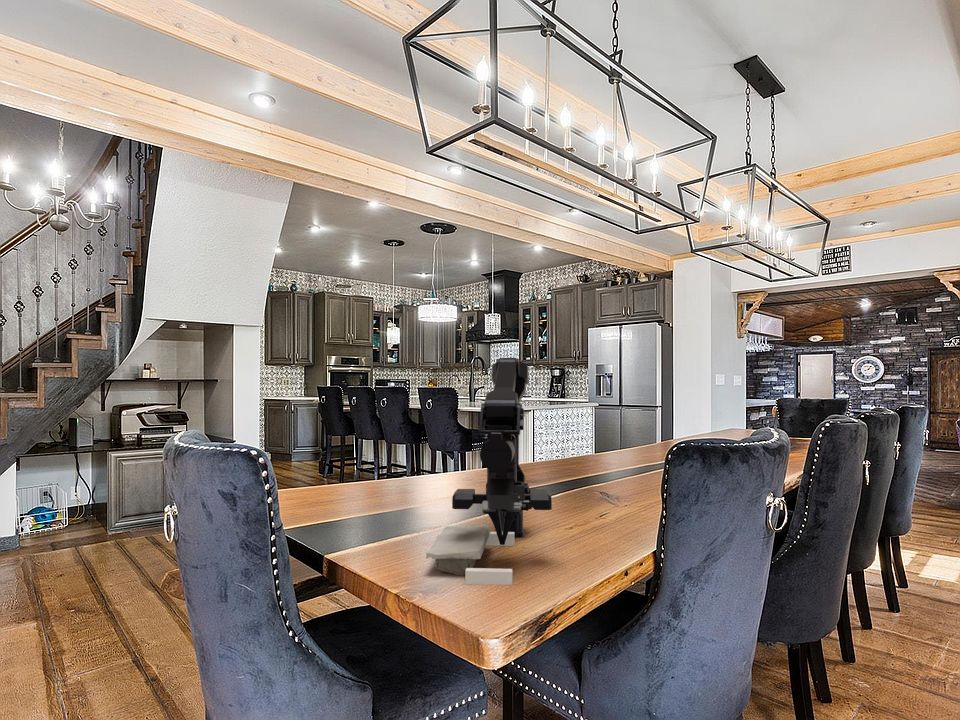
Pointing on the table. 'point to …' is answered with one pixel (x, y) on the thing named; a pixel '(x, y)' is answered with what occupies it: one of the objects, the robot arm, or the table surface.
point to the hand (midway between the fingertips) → (502, 544)
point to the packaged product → (459, 547)
